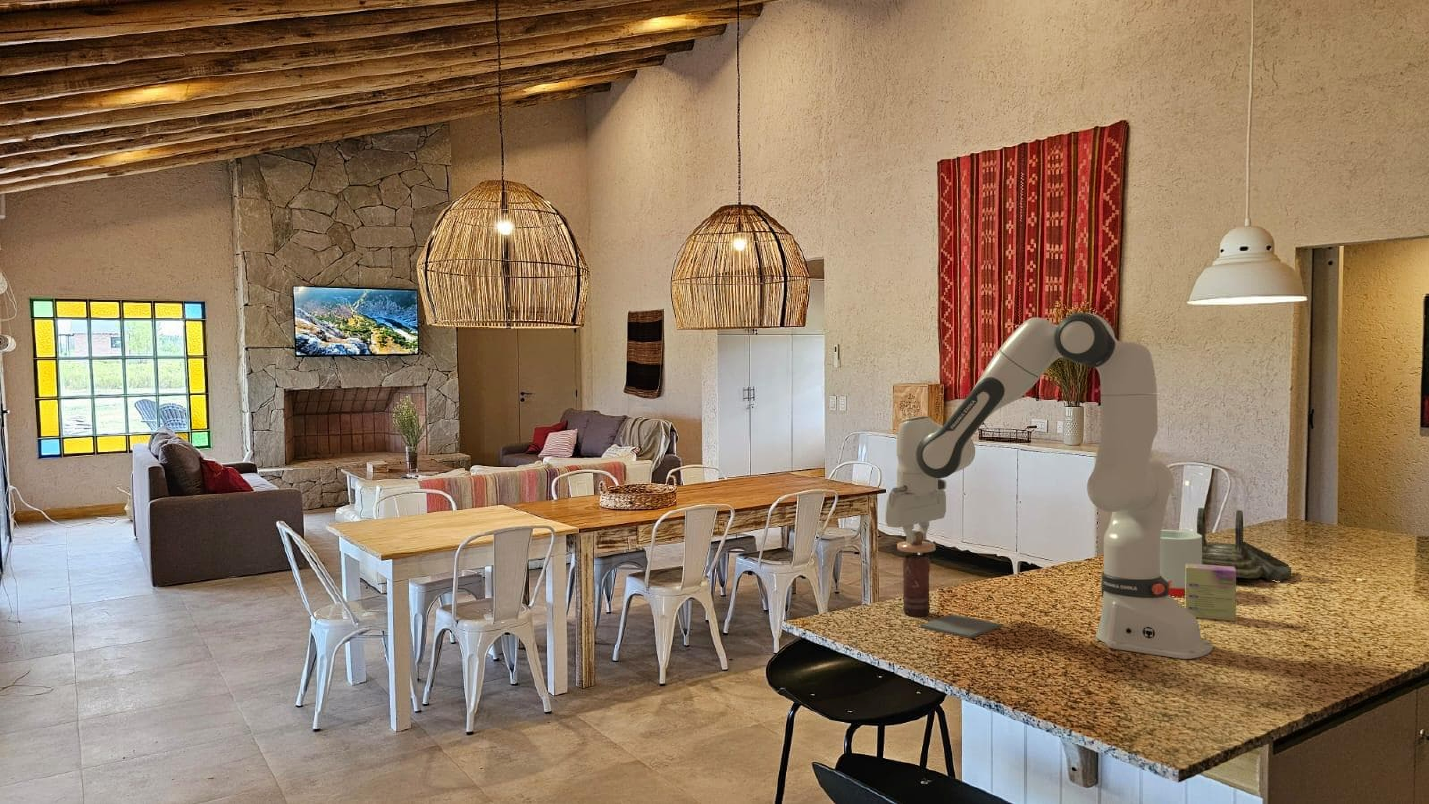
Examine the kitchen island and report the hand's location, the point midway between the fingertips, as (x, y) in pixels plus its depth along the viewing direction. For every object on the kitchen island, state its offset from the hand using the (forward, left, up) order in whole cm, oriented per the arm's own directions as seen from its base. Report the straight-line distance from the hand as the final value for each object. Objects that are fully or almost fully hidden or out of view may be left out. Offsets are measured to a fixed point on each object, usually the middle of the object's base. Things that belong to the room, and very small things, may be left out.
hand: (916, 541), depth 228 cm
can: (0, 0, -18) cm, 18 cm away
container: (-34, -65, -18) cm, 75 cm away
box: (-51, -44, -18) cm, 70 cm away
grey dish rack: (-35, -97, -18) cm, 105 cm away
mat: (-14, +3, -18) cm, 23 cm away
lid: (0, 0, -2) cm, 2 cm away
